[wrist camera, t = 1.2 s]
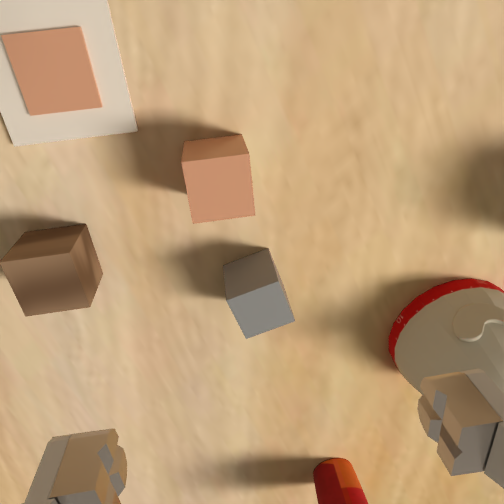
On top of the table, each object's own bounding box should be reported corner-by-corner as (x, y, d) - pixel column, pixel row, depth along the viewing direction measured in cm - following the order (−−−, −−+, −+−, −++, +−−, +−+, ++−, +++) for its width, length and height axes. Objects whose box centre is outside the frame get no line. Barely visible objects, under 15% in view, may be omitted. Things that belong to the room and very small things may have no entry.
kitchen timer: (388, 294, 41) (476, 419, 28) (518, 265, 41) (666, 376, 28) (388, 385, 48) (459, 519, 35) (499, 360, 48) (611, 484, 35)
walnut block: (25, 231, 33) (-1, 262, 28) (86, 223, 33) (69, 252, 29) (46, 281, 35) (25, 316, 31) (103, 273, 36) (90, 307, 31)
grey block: (222, 265, 37) (226, 300, 32) (268, 247, 36) (278, 281, 31) (240, 300, 39) (246, 338, 34) (283, 284, 38) (295, 321, 34)
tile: (-41, 2, 25) (-46, 1, 24) (104, -13, 25) (102, -14, 25) (16, 145, 29) (12, 147, 29) (138, 130, 30) (136, 132, 29)
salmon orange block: (184, 141, 31) (181, 162, 26) (241, 134, 31) (249, 153, 26) (193, 195, 33) (192, 223, 28) (247, 188, 33) (255, 215, 28)
